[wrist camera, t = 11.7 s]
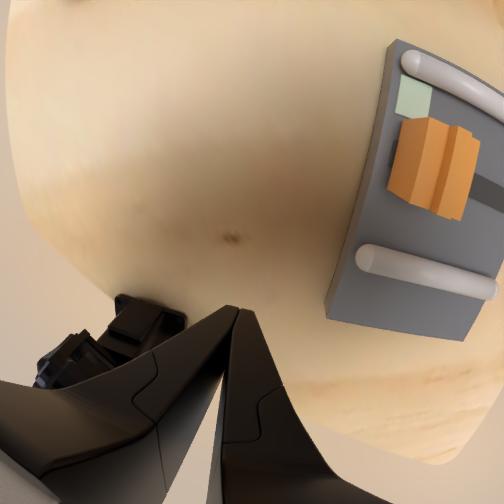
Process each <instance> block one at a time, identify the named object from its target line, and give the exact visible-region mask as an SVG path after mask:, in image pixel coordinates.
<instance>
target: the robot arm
mask: <svg viewBox="0 0 504 504" xmlns="http://www.w3.org/2000/svg"><path fill="white" fill-rule="evenodd" d="M119 299H120V300H121V301H122V302H121V301H120V300H119ZM115 312H116V317H115V318H114V320H113V321H112V322H111V323H110V324H109V325H108V328H107V330H106V331H105V332H104V333H103V334H102V335H101V336H100V338H99V339H98V340H97V341H95V340H94V339H93V338H92V337H91V336H90V333H89V332H88V331H87V330H86V329H84V330H83V331H82V332H81V333H80V334H77V333H76V334H75V335H74V334H70V335H69V336H68V337H67V338H66V339H65V340H64V341H63V342H62V343H61V344H60V345H59V346H58V347H56V348H55V349H54V350H52V351H51V352H49V353H48V354H46V355H45V356H44V357H42V358H41V359H40V360H39V361H38V363H37V370H38V374H37V376H36V378H35V379H36V381H35V383H34V384H33V386H32V387H28V386H23V385H19V384H14V383H10V382H5V381H1V380H0V504H162V503H163V501H164V499H165V497H166V495H167V494H166V493H168V491H169V489H170V487H171V485H172V483H173V480H174V478H175V477H176V474H177V472H178V470H179V468H180V466H181V464H182V462H183V460H184V458H185V456H186V454H187V452H188V449H189V447H190V445H191V443H192V441H193V439H194V437H195V435H196V433H197V431H198V429H199V426H200V424H201V422H202V420H203V418H204V416H205V414H206V412H207V409H208V407H209V405H210V403H211V401H212V399H213V396H214V394H215V392H216V390H217V388H218V385H219V383H220V381H221V378H222V376H223V380H222V387H221V394H220V402H219V409H218V417H217V424H216V431H215V439H214V446H213V454H212V462H211V470H210V477H209V486H208V493H207V502H206V504H393V503H390V502H388V501H386V500H383V499H381V498H379V497H377V496H375V495H373V494H371V493H369V492H366V491H364V490H362V489H360V488H358V487H356V486H354V485H353V484H351V483H349V482H347V481H345V480H343V479H342V478H341V477H339V476H338V475H337V474H336V473H335V472H334V471H333V470H332V469H331V468H330V467H329V466H328V464H327V463H326V462H325V460H324V458H323V457H322V455H321V453H320V452H319V450H318V449H317V447H316V445H315V444H314V442H313V441H312V439H311V438H310V436H309V434H308V433H307V431H306V429H305V428H304V426H303V424H302V423H301V421H300V419H299V417H298V416H297V414H296V412H295V410H294V408H293V406H292V404H291V402H290V399H289V397H288V395H287V392H286V390H285V387H284V386H283V383H282V380H281V378H280V375H279V373H278V371H277V368H276V366H275V363H274V361H273V358H272V356H271V353H270V351H269V348H268V346H267V343H266V341H265V338H264V336H263V333H262V331H261V328H260V325H259V323H258V320H257V318H256V315H255V313H254V311H251V310H247V309H239V308H238V307H235V306H231V305H225V306H223V307H222V308H220V309H219V310H217V311H215V312H214V313H212V314H210V315H209V316H207V317H205V318H204V319H202V320H200V321H199V322H197V323H195V324H194V325H192V326H190V327H189V328H187V329H186V324H187V318H186V316H185V315H184V314H182V313H179V312H176V311H173V310H169V309H166V308H162V307H159V306H156V305H153V304H149V303H146V302H143V301H140V300H137V299H134V298H130V297H127V296H124V295H121V294H119V295H117V296H116V297H115ZM178 318H180V319H181V320H182V321H181V320H179V319H178ZM223 373H224V375H223Z"/></svg>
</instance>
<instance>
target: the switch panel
mask: <svg viewBox="0 0 504 504" xmlns="http://www.w3.org/2000/svg"><path fill="white" fill-rule="evenodd" d="M424 117H431V118H434V119H436V120H438V121H440V122H443V123H445V124H447V125H449V126H460V127H462V128H464V129H466V130H468V131H470V132H472V137H473V138H475V139H477V140H479V141H481V142H480V147H479V152H478V157H477V162H476V166H475V171H474V175H473V179H472V183H471V187H470V191H469V194H468V198H467V201H466V205H465V208H464V211H463V215H462V218H461V221H458V220H456V219H453V218H451V220H450V219H447V218H445V217H442V216H439V215H436V214H435V213H433V212H432V211H430V210H428V209H425V208H422V207H419V206H416V205H413V204H410V203H408V202H407V201H405V200H404V199H402V198H400V197H399V196H397V195H396V194H394V193H393V192H391V191H389V190H388V189H387V186H388V182H389V179H390V175H391V171H392V167H393V162H394V158H395V154H396V150H397V145H398V141H399V136H400V131H401V126H402V121H403V120H407V119H415V118H424ZM503 259H504V94H503V93H502V92H500V91H499V90H497V89H496V88H494V87H493V86H491V85H489V84H488V83H486V82H485V81H483V80H481V79H480V78H478V77H476V76H475V75H473V74H471V73H469V72H468V71H466V70H464V69H462V68H460V67H458V66H457V65H455V64H453V63H451V62H449V61H447V60H445V59H443V58H441V57H439V56H436V55H434V54H432V53H430V52H428V51H426V50H423V49H421V48H419V47H416V46H414V45H411V44H409V43H406V42H404V41H401V40H399V39H396V40H395V41H394V42H393V43H392V44H391V45H390V46H389V47H388V48H387V54H386V61H385V68H384V74H383V81H382V87H381V92H380V98H379V104H378V109H377V114H376V119H375V124H374V129H373V134H372V138H371V143H370V147H369V152H368V156H367V160H366V165H365V169H364V173H363V177H362V181H361V185H360V189H359V192H358V196H357V200H356V204H355V207H354V211H353V214H352V218H351V222H350V225H349V228H348V232H347V235H346V239H345V242H344V245H343V248H342V252H341V255H340V258H339V261H338V264H337V267H336V270H335V273H334V276H333V279H332V282H331V285H330V288H329V291H328V294H327V297H326V300H325V311H326V319H331V320H336V321H341V322H347V323H352V324H357V325H362V326H368V327H373V328H379V329H385V330H390V331H396V332H402V333H408V334H414V335H421V336H427V337H434V338H441V339H448V340H455V341H462V342H463V341H464V339H465V337H466V336H467V334H468V332H469V330H470V329H471V327H472V325H473V323H474V321H475V320H476V318H477V316H478V314H479V312H480V310H481V308H482V306H483V304H484V302H485V300H486V301H490V300H493V299H494V298H495V297H496V296H497V294H498V290H499V288H498V284H497V282H496V281H495V279H496V276H497V274H498V272H499V269H500V267H501V264H502V262H503Z"/></svg>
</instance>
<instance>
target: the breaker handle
mask: <svg viewBox="0 0 504 504" xmlns="http://www.w3.org/2000/svg"><path fill="white" fill-rule="evenodd" d="M480 142H481V141H479V140H477V139H475V138H473V137H472V132H470V131H468V130H466V129H464V128H462V127H460V126H449V125H447V124H445V123H443V122H440V121H438V120H436V119H434V118H431V117H424V118H415V119H407V120H403V121H402V126H401V131H400V136H399V141H398V145H397V150H396V154H395V158H394V162H393V167H392V171H391V175H390V179H389V182H388V186H387V189H388V190H389V191H391V192H393V193H394V194H396V195H397V196H399V197H400V198H402V199H404V200H405V201H407V202H408V203H410V204H413V205H416V206H419V207H422V208H425V209H428V210H430V211H432V212H433V213H435V214H436V215H439V216H442V217H445V218H447V219H450V220H451V218H453V219H456V220H458V221H461V218H462V215H463V211H464V208H465V205H466V201H467V198H468V194H469V191H470V187H471V183H472V179H473V175H474V171H475V166H476V162H477V157H478V152H479V147H480Z"/></svg>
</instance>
